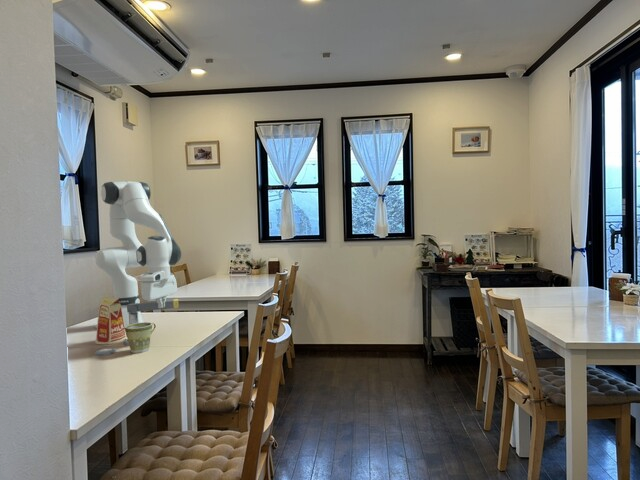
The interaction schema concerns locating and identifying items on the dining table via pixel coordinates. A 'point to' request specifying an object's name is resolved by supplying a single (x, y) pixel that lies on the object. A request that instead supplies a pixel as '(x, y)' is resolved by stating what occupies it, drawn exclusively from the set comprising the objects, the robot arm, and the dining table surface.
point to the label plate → (105, 351)
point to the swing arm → (151, 306)
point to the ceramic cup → (139, 336)
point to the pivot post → (132, 319)
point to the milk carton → (110, 322)
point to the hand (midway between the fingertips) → (161, 307)
